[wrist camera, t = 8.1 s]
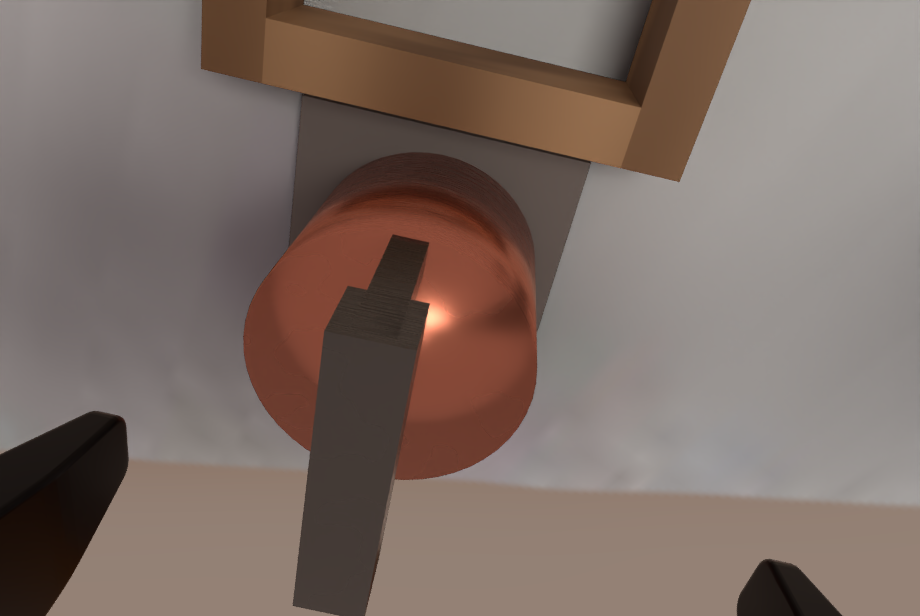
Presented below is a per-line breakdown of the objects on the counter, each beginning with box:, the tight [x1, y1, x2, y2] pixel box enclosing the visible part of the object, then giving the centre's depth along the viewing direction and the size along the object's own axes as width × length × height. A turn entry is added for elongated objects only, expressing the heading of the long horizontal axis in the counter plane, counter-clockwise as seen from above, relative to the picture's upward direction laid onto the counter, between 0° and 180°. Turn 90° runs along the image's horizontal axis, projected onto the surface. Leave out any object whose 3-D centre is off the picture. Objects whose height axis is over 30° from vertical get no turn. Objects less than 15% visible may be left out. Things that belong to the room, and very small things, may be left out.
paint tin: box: [243, 152, 537, 616], centre depth 17 cm, size 7×7×10 cm
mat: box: [289, 94, 591, 334], centre depth 21 cm, size 8×8×1 cm
